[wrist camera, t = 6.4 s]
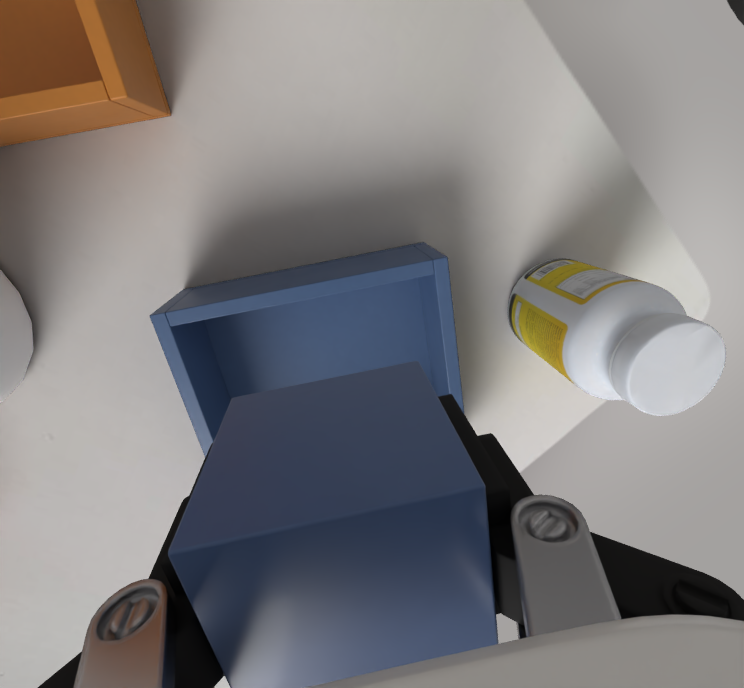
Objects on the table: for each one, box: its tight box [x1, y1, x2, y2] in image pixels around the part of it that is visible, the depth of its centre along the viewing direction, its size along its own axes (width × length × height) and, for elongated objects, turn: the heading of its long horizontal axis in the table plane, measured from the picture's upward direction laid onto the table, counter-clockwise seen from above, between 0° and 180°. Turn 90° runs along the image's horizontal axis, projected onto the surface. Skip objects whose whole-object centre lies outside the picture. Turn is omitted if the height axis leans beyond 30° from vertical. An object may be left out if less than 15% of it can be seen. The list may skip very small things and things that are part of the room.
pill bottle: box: [508, 259, 726, 416], centre depth 24 cm, size 6×6×12 cm
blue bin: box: [150, 242, 464, 458], centre depth 27 cm, size 16×16×6 cm
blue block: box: [168, 361, 498, 688], centre depth 10 cm, size 5×5×5 cm
